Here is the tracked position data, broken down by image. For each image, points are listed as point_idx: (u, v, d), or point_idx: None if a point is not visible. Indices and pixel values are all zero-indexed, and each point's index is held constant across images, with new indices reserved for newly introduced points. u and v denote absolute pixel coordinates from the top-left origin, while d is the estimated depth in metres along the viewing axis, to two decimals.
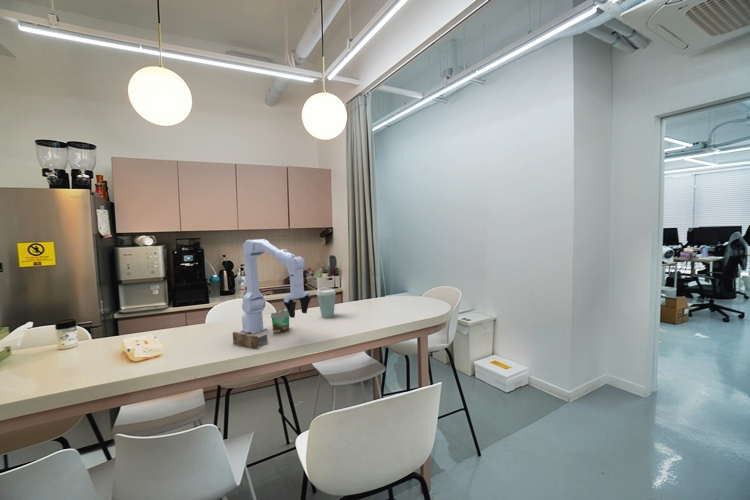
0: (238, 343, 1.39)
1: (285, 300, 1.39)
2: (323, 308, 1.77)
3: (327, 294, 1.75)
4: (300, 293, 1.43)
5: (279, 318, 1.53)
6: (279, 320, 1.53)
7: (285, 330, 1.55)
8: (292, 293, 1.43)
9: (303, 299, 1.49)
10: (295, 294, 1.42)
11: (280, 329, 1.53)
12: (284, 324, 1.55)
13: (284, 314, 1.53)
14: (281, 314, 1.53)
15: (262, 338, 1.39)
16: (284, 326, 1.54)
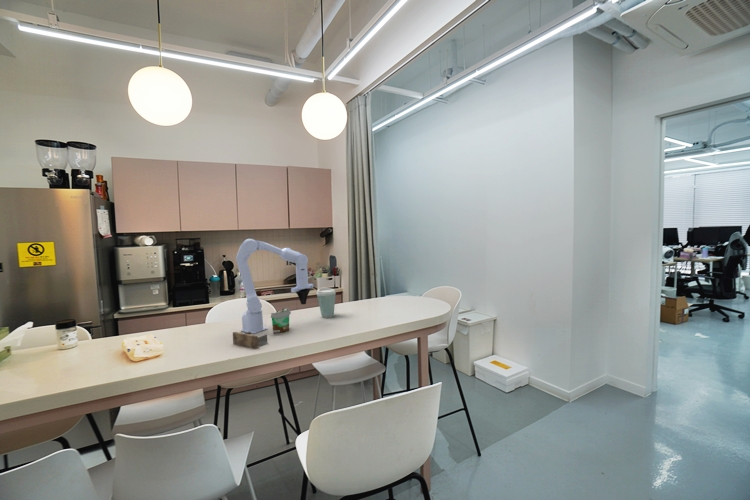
0: (238, 343, 1.39)
1: (292, 291, 1.62)
2: (323, 308, 1.77)
3: (327, 294, 1.75)
4: (305, 285, 1.66)
5: (279, 318, 1.53)
6: (279, 320, 1.53)
7: (285, 330, 1.55)
8: (298, 285, 1.66)
9: None
10: (300, 286, 1.65)
11: (280, 329, 1.53)
12: (284, 324, 1.55)
13: (284, 314, 1.54)
14: (281, 314, 1.53)
15: (262, 338, 1.39)
16: (284, 326, 1.54)
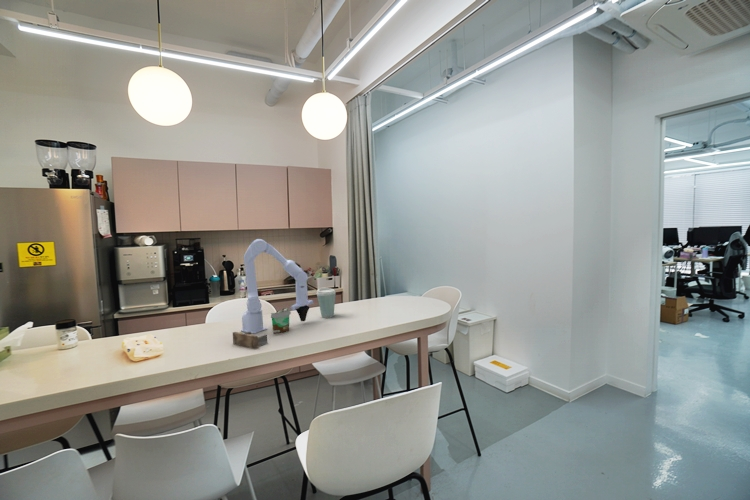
0: (238, 343, 1.39)
1: (292, 308, 1.62)
2: (323, 308, 1.77)
3: (327, 294, 1.75)
4: (304, 302, 1.66)
5: (279, 318, 1.53)
6: (279, 320, 1.53)
7: (285, 330, 1.55)
8: (298, 302, 1.66)
9: None
10: (300, 303, 1.65)
11: (280, 329, 1.53)
12: (284, 324, 1.55)
13: (284, 314, 1.53)
14: (281, 314, 1.53)
15: (262, 338, 1.39)
16: (284, 326, 1.54)
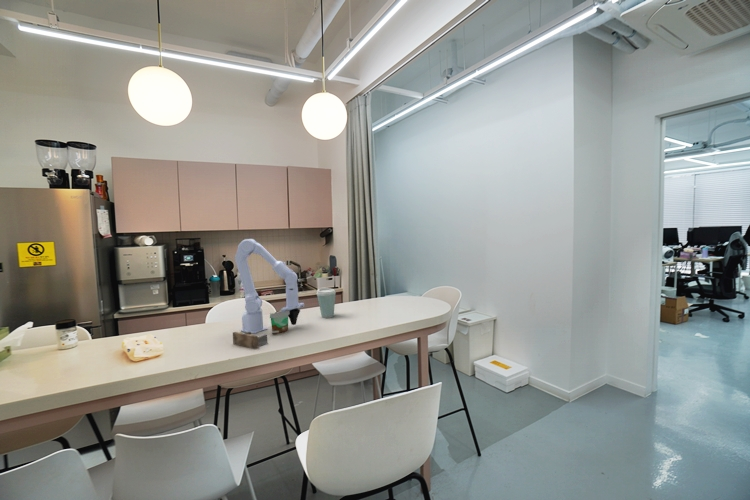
0: (238, 343, 1.39)
1: (282, 311, 1.56)
2: (323, 308, 1.77)
3: (327, 294, 1.75)
4: (295, 305, 1.60)
5: (278, 318, 1.52)
6: (278, 320, 1.52)
7: (284, 330, 1.55)
8: (288, 305, 1.60)
9: None
10: (290, 306, 1.59)
11: (279, 329, 1.53)
12: (283, 324, 1.54)
13: (283, 314, 1.53)
14: (280, 314, 1.52)
15: (262, 338, 1.39)
16: (283, 327, 1.54)
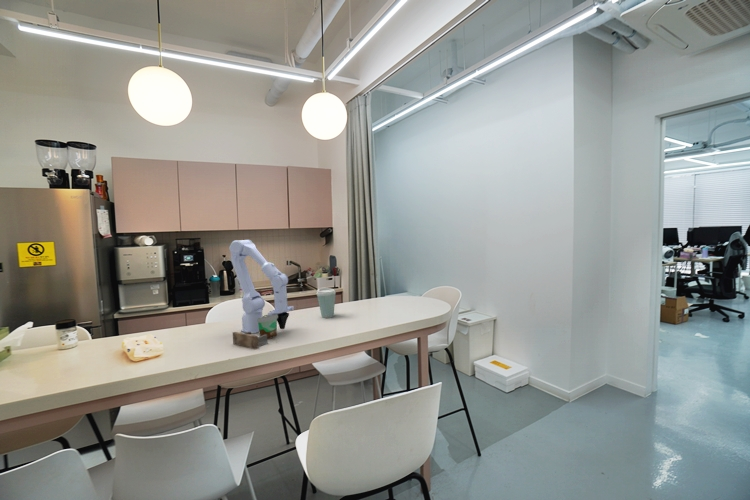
0: (238, 343, 1.39)
1: (269, 315, 1.49)
2: (323, 308, 1.77)
3: (327, 294, 1.75)
4: (283, 308, 1.54)
5: (266, 323, 1.45)
6: (266, 325, 1.45)
7: (272, 335, 1.48)
8: (276, 308, 1.53)
9: None
10: (279, 309, 1.53)
11: (267, 334, 1.46)
12: (271, 329, 1.47)
13: (271, 318, 1.46)
14: (268, 318, 1.45)
15: (262, 338, 1.39)
16: (271, 331, 1.47)
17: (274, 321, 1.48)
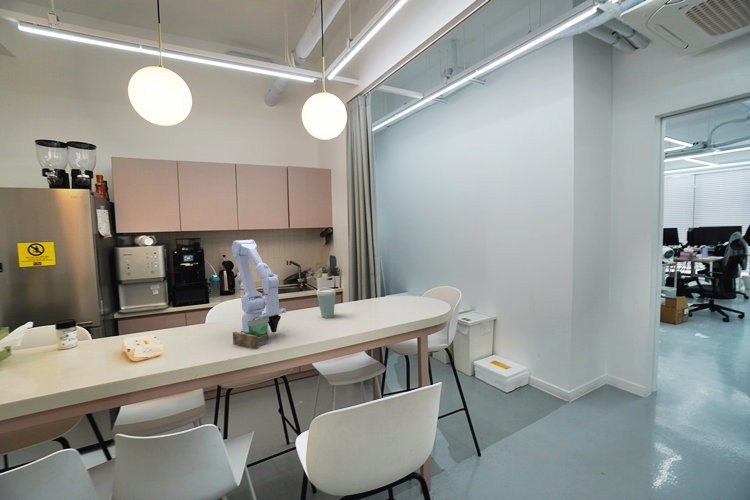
0: (238, 343, 1.39)
1: (260, 318, 1.45)
2: (323, 308, 1.77)
3: (327, 294, 1.75)
4: (275, 311, 1.49)
5: (256, 326, 1.41)
6: (256, 328, 1.41)
7: None
8: (267, 311, 1.49)
9: None
10: (270, 312, 1.48)
11: None
12: (262, 332, 1.43)
13: (262, 321, 1.42)
14: (258, 322, 1.41)
15: (262, 338, 1.39)
16: None
17: (265, 324, 1.44)
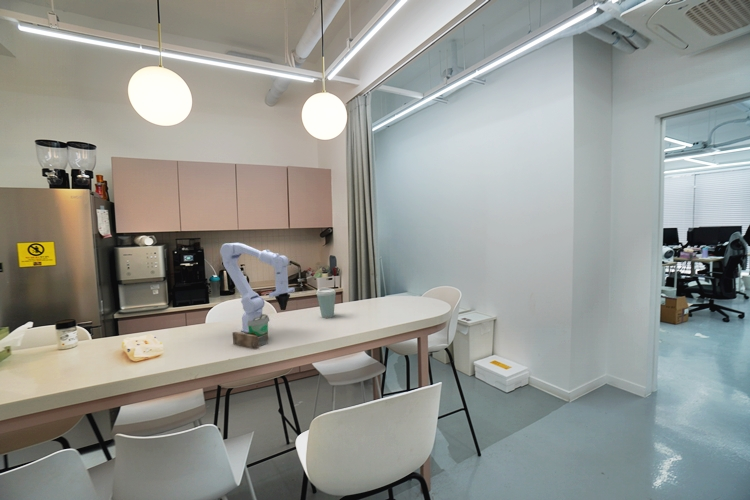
0: (238, 343, 1.39)
1: (270, 295, 1.50)
2: (323, 308, 1.77)
3: (327, 294, 1.75)
4: (284, 289, 1.54)
5: (256, 326, 1.41)
6: (257, 328, 1.41)
7: None
8: (277, 289, 1.54)
9: None
10: (280, 290, 1.53)
11: None
12: (262, 332, 1.43)
13: (262, 322, 1.42)
14: (259, 322, 1.41)
15: (262, 338, 1.39)
16: None
17: (265, 324, 1.44)
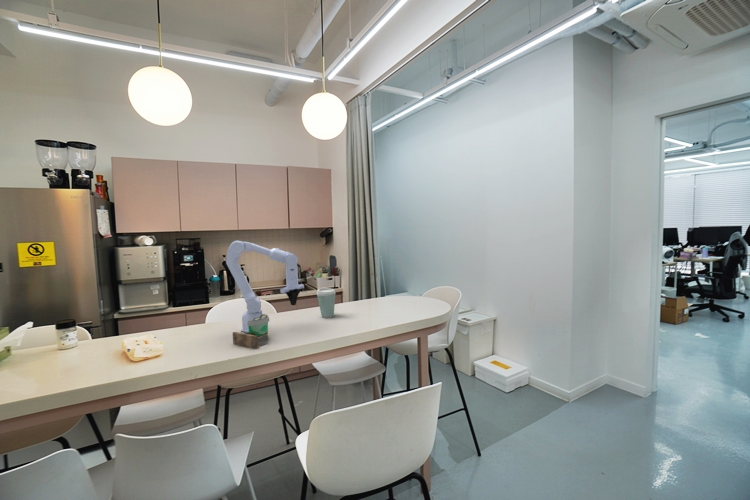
0: (238, 343, 1.39)
1: (281, 291, 1.59)
2: (323, 308, 1.77)
3: (327, 294, 1.75)
4: (295, 285, 1.63)
5: (256, 326, 1.41)
6: (257, 328, 1.41)
7: None
8: (288, 285, 1.63)
9: None
10: (290, 286, 1.62)
11: None
12: (262, 332, 1.43)
13: (262, 322, 1.42)
14: (259, 322, 1.41)
15: (262, 338, 1.39)
16: None
17: (265, 324, 1.44)
